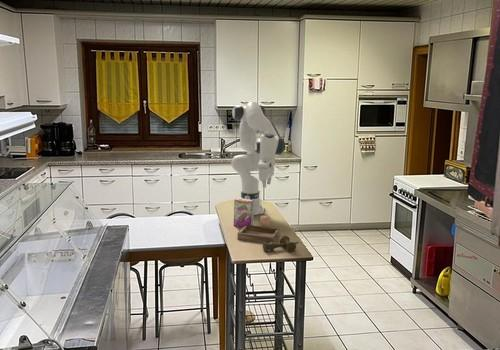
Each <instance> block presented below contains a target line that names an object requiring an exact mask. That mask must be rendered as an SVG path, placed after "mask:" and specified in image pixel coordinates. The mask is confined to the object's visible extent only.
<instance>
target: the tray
mask: <svg viewBox="0 0 500 350" xmlns="http://www.w3.org/2000/svg"><path fill="white" fill-rule="evenodd" d="M280 232H281V231H280V228H277V227H271V226H270V227H262V226H260V225H254V224H253V225H245V226H244V227H242V228H241V229H240V230H239V231H238V232H237V235H236V236H237V238H236V239H237V240H241V241H249V242H254V243H255V242H256V243H262V244H263V242H266V243H270V242H273V243H275V241H276V240H277V239H278V237H279V236H280Z"/></svg>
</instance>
